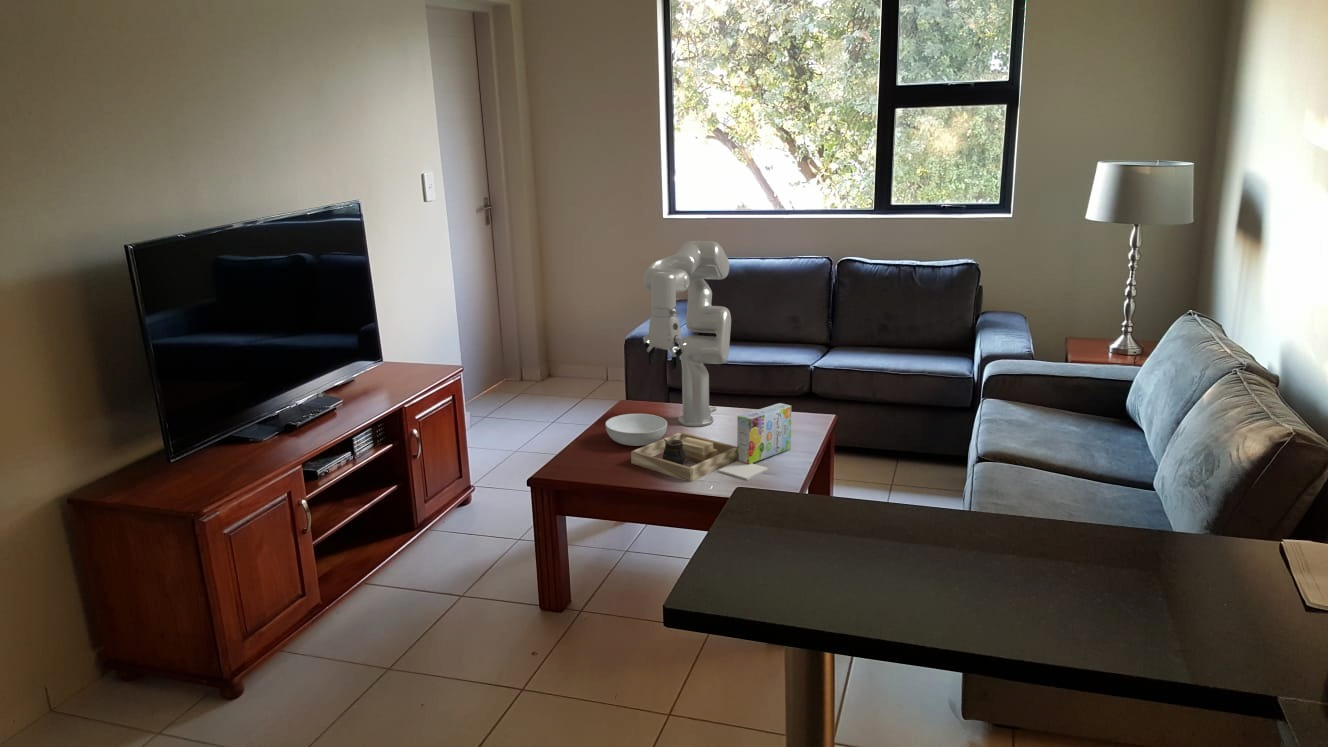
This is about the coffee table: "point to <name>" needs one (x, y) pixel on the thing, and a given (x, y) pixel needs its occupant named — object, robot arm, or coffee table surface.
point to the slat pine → (696, 445)
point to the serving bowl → (636, 429)
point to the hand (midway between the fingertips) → (664, 366)
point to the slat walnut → (693, 459)
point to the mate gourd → (674, 451)
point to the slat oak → (702, 454)
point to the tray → (647, 460)
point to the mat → (743, 470)
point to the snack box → (763, 433)
